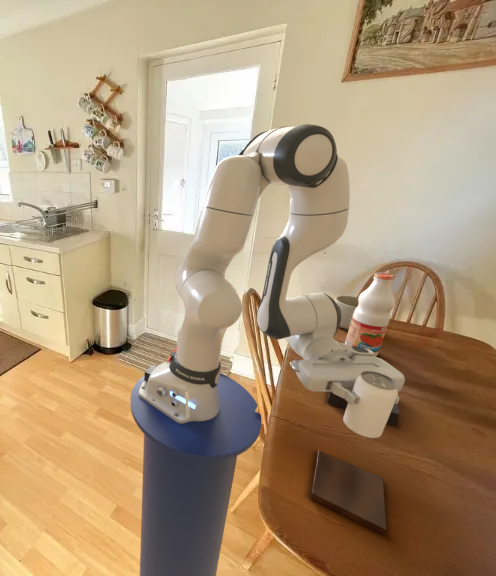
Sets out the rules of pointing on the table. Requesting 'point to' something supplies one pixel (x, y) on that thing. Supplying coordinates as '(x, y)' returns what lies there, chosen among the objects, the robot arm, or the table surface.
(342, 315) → the planter
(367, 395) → the can
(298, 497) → the table surface
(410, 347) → the table surface
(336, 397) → the processor base
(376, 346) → the fruit juice
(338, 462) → the board
